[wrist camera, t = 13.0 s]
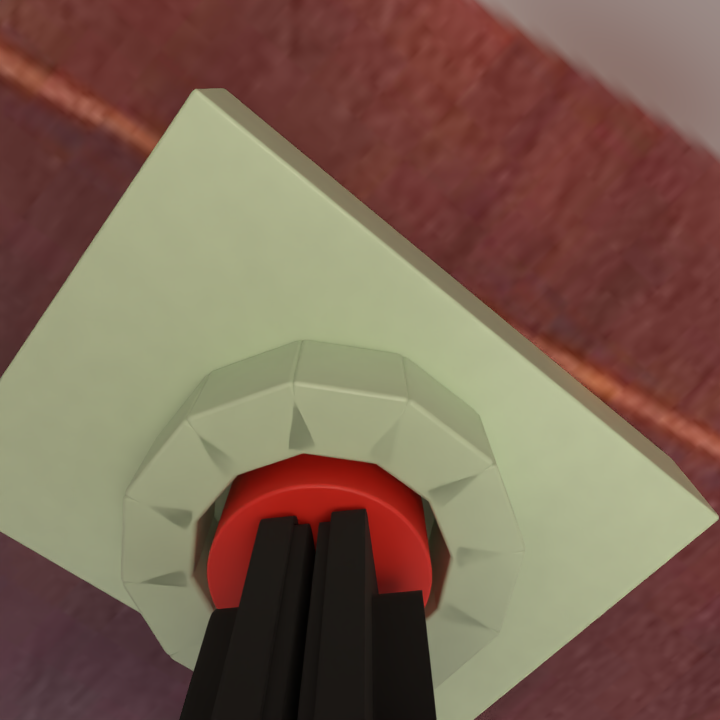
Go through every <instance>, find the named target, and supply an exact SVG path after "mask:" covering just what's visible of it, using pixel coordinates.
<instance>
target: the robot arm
mask: <svg viewBox="0 0 720 720" xmlns="http://www.w3.org/2000/svg"><path fill="white" fill-rule="evenodd" d="M179 720H437V717H436V708H435V699H434V690H433V681H432V672H431V663H430V654H429V645H428V636H427V627H426V618H425V610H424V601H423V592H422V590H416V591H405V592H395V593H384V594H379V592H378V585H377V578H376V571H375V564H374V557H373V550H372V543H371V536H370V529H369V523H368V516H367V510H366V509H356V510H346V511H336V512H332V513H331V521H329V522H320V523H319V526H318V535H317V544H316V551H315V545H314V540H313V534H312V529H311V526H310V524H298V519H297V517H296V516H286V517H276V518H266V519H261V520H260V523H259V526H258V530H257V534H256V538H255V542H254V546H253V550H252V554H251V558H250V562H249V567H248V571H247V575H246V579H245V583H244V587H243V591H242V595H241V599H240V603H239V607H233V608H222V609H215V610H214V611H213V612H212V614H211V616H210V619H209V621H208V625H207V628H206V631H205V635H204V638H203V642H202V645H201V648H200V652H199V655H198V658H197V662H196V665H195V668H194V672H193V675H192V679H191V682H190V685H189V689H188V692H187V695H186V699H185V702H184V706H183V709H182V712H181V716H180V719H179Z"/></svg>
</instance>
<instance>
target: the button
mask: <svg viewBox="0 0 720 720" xmlns="http://www.w3.org/2000/svg"><path fill="white" fill-rule="evenodd" d="M356 509H366V510H367V516H368V523H369V529H370V536H371V543H372V550H373V557H374V564H375V571H376V578H377V585H378V592H379V594H384V593H395V592H405V591H416V590H422V592H423V601H424V608H425V606H426V604H427V601H428V598H429V595H430V591H431V585H432V565H431V558H430V551H429V544H428V537H427V530H426V523H425V516H424V509H423V503H422V498H421V496H420V495H419V494H418V493H416V492H415V491H413V490H412V489H411V488H409V487H408V486H406V485H405V484H404V483H402V482H401V481H399V480H398V479H397V478H395V477H394V476H392V475H391V474H390V473H388V472H387V471H385V470H384V469H383V468H381V467H380V466H378V465H377V464H374V463H367V462H360V461H353V460H346V459H339V458H332V457H325V456H318V455H311V454H304V453H303V454H300V455H297V456H294V457H291V458H288V459H285V460H282V461H279V462H276V463H273V464H270V465H267V466H264V467H261V468H258V469H255V470H252V471H249V472H246V473H243V474H240V475H237V477H236V478H235V479H234V481H233V482H232V485H231V488H230V491H229V493H228V496H227V499H226V502H225V505H224V509H223V512H222V515H221V518H220V521H219V524H218V527H217V530H216V533H215V536H214V539H213V542H212V545H211V548H210V551H209V556H208V561H207V580H208V587H209V590H210V594H211V597H212V600H213V602H214V604H215V606H216V608H217V609H222V608H233V607H239V603H240V599H241V595H242V591H243V587H244V583H245V579H246V575H247V571H248V567H249V562H250V558H251V554H252V550H253V546H254V542H255V538H256V534H257V530H258V526H259V523H260V520H261V519H266V518H276V517H286V516H296V517H297V519H298V524H310V526H311V529H312V534H313V540H314V545H315V551H316V544H317V535H318V526H319V523H320V522H329V521H331V513H332V512H336V511H346V510H356Z"/></svg>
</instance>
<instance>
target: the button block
mask: <svg viewBox="0 0 720 720" xmlns="http://www.w3.org/2000/svg"><path fill="white" fill-rule="evenodd" d="M303 453H304V454H311V455H318V456H325V457H332V458H339V459H346V460H353V461H360V462H367V463H374V464H377V465H378V466H380V467H381V468H383V469H384V470H385V471H387V472H388V473H390V474H391V475H392V476H394V477H395V478H397V479H398V480H399V481H401V482H402V483H404V484H405V485H406V486H408V487H409V488H411V489H412V490H413V491H415V492H416V493H418V494H419V495H420V496H421V498H422V503H423V509H424V516H425V523H426V530H427V537H428V544H429V551H430V558H431V565H432V585H431V591H430V595H429V598H428V601H427V604H426V606H425V608H424V610H425V618H426V627H427V636H428V645H429V654H430V663H431V672H432V681H433V690H434V699H435V708H436V717H437V720H474V719H475V718H476V717H477V716H478V715H480V714H481V713H482V712H483V711H485V710H486V709H487V708H488V707H489V706H491V705H492V704H493V703H494V702H496V701H497V700H498V699H499V698H500V697H502V696H503V695H504V694H505V693H507V692H508V691H509V690H510V689H511V688H513V687H514V686H515V685H516V684H518V683H519V682H520V681H521V680H523V679H524V678H525V677H526V676H527V675H529V674H530V673H531V672H532V671H534V670H535V669H536V668H537V667H538V666H540V665H541V664H542V663H543V662H545V661H546V660H547V659H548V658H549V657H551V656H552V655H553V654H554V653H556V652H557V651H558V650H559V649H560V648H562V647H563V646H564V645H565V644H567V643H568V642H569V641H570V640H572V639H573V638H574V637H575V636H576V635H578V634H579V633H580V632H581V631H583V630H584V629H585V628H586V627H587V626H589V625H590V624H591V623H592V622H594V621H595V620H596V619H597V618H598V617H600V616H601V615H602V614H603V613H605V612H606V611H607V610H608V609H609V608H611V607H612V606H613V605H614V604H616V603H617V602H618V601H619V600H620V599H622V598H623V597H624V596H625V595H627V594H628V593H629V592H630V591H632V590H633V589H634V588H635V587H636V586H638V585H639V584H640V583H641V582H643V581H644V580H645V579H646V578H647V577H649V576H650V575H651V574H652V573H654V572H655V571H656V570H657V569H658V568H660V567H661V566H662V565H663V564H665V563H666V562H667V561H668V560H669V559H671V558H672V557H673V556H674V555H676V554H677V553H678V552H679V551H681V550H682V549H683V548H684V547H685V546H687V545H688V544H689V543H690V542H692V541H693V540H694V539H695V538H696V537H698V536H699V535H700V534H701V533H703V532H704V531H705V530H706V529H707V528H709V527H710V526H711V525H712V524H714V523H715V522H716V521H717V520H718V519H719V517H718V515H717V513H716V512H715V511H714V510H713V508H712V507H711V506H710V505H709V504H708V502H707V501H706V500H705V499H704V498H703V496H702V495H701V494H700V493H699V491H698V490H697V489H696V488H695V487H694V485H693V484H692V483H691V482H690V481H689V479H688V478H687V477H686V476H685V474H684V473H683V472H682V471H681V470H680V468H679V467H678V466H677V465H676V464H675V462H674V461H673V460H672V459H671V458H670V457H669V456H668V455H666V454H665V453H664V452H663V451H662V450H660V449H659V448H658V447H657V446H656V445H654V444H653V443H652V442H651V441H649V440H648V439H647V438H646V437H645V436H643V435H642V434H641V433H640V432H639V431H637V430H636V429H635V428H634V427H633V426H631V425H630V424H629V423H628V422H627V421H625V420H624V419H623V418H622V417H621V416H619V415H618V414H617V413H616V412H614V411H613V410H612V409H611V408H610V407H608V406H607V405H606V404H605V403H604V402H602V401H601V400H600V399H599V398H598V397H596V396H595V395H594V394H593V393H592V392H590V391H589V390H588V389H587V388H586V387H584V386H583V385H582V384H581V383H579V382H578V381H577V380H576V379H575V378H573V377H572V376H571V375H570V374H569V373H567V372H566V371H565V370H564V369H563V368H561V367H560V366H559V365H558V364H557V363H555V362H554V361H553V360H552V359H551V358H549V357H548V356H547V355H546V354H544V353H543V352H542V351H541V350H540V349H538V348H537V347H536V346H535V345H534V344H532V343H531V342H530V341H529V340H528V339H526V338H525V337H524V336H523V335H522V334H520V333H519V332H518V331H517V330H516V329H514V328H513V327H512V326H511V325H509V324H508V323H507V322H506V321H505V320H503V319H502V318H501V317H500V316H499V315H497V314H496V313H495V312H494V311H493V310H491V309H490V308H489V307H488V306H487V305H485V304H484V303H483V302H482V301H481V300H479V299H478V298H477V297H476V296H474V295H473V294H472V293H471V292H470V291H468V290H467V289H466V288H465V287H464V286H462V285H461V284H460V283H459V282H458V281H456V280H455V279H454V278H453V277H452V276H450V275H449V274H448V273H447V272H445V271H444V270H443V269H442V268H441V267H439V266H438V265H437V264H436V263H435V262H433V261H432V260H431V259H430V258H429V257H427V256H426V255H425V254H424V253H423V252H421V251H420V250H419V249H418V248H417V247H415V246H414V245H413V244H412V243H410V242H409V241H408V240H407V239H406V238H404V237H403V236H402V235H401V234H400V233H398V232H397V231H396V230H395V229H394V228H392V227H391V226H390V225H389V224H388V223H386V222H385V221H384V220H383V219H382V218H380V217H379V216H378V215H377V214H375V213H374V212H373V211H372V210H371V209H369V208H368V207H367V206H366V205H365V204H363V203H362V202H361V201H360V200H359V199H357V198H356V197H355V196H354V195H353V194H351V193H350V192H349V191H348V190H347V189H345V188H344V187H343V186H342V185H340V184H339V183H338V182H337V181H336V180H334V179H333V178H332V177H331V176H330V175H328V174H327V173H326V172H325V171H324V170H322V169H321V168H320V167H319V166H318V165H316V164H315V163H314V162H313V161H312V160H310V159H309V158H308V157H307V156H305V155H304V154H303V153H302V152H301V151H299V150H298V149H297V148H296V147H295V146H293V145H292V144H291V143H290V142H289V141H287V140H286V139H285V138H284V137H283V136H281V135H280V134H279V133H278V132H277V131H275V130H274V129H273V128H272V127H270V126H269V125H268V124H267V123H266V122H264V121H263V120H262V119H261V118H260V117H258V116H257V115H256V114H255V113H254V112H252V111H251V110H250V109H249V108H248V107H246V106H245V105H244V104H243V103H241V102H240V101H239V100H238V99H237V98H235V97H234V96H233V95H232V94H231V93H229V92H228V91H227V90H226V89H223V88H214V89H195V90H193V91H192V92H191V94H190V95H189V97H188V98H187V100H186V101H185V103H184V104H183V106H182V107H181V109H180V110H179V112H178V113H177V115H176V116H175V118H174V119H173V121H172V122H171V124H170V125H169V127H168V128H167V130H166V131H165V133H164V134H163V136H162V137H161V139H160V140H159V142H158V143H157V145H156V146H155V148H154V149H153V151H152V152H151V154H150V155H149V157H148V158H147V160H146V161H145V163H144V164H143V166H142V167H141V169H140V170H139V172H138V173H137V175H136V176H135V178H134V179H133V181H132V182H131V184H130V185H129V187H128V188H127V190H126V191H125V193H124V194H123V196H122V197H121V199H120V200H119V202H118V203H117V205H116V206H115V208H114V209H113V211H112V212H111V214H110V215H109V217H108V218H107V220H106V221H105V223H104V224H103V226H102V227H101V229H100V230H99V232H98V233H97V235H96V236H95V238H94V239H93V241H92V242H91V243H90V245H89V246H88V248H87V249H86V251H85V252H84V254H83V255H82V257H81V258H80V260H79V261H78V263H77V264H76V266H75V267H74V269H73V270H72V272H71V273H70V275H69V276H68V278H67V279H66V281H65V282H64V284H63V285H62V287H61V288H60V290H59V291H58V293H57V294H56V296H55V297H54V299H53V300H52V302H51V303H50V305H49V306H48V308H47V309H46V311H45V312H44V314H43V315H42V317H41V318H40V320H39V321H38V323H37V324H36V326H35V327H34V329H33V330H32V332H31V333H30V335H29V336H28V338H27V339H26V341H25V342H24V344H23V345H22V347H21V348H20V350H19V351H18V353H17V354H16V356H15V357H14V359H13V360H12V362H11V363H10V365H9V366H8V368H7V369H6V371H5V372H4V374H3V375H2V377H1V378H0V532H2V533H4V534H6V535H7V536H9V537H11V538H12V539H14V540H16V541H18V542H19V543H21V544H23V545H24V546H26V547H28V548H30V549H31V550H33V551H35V552H36V553H38V554H40V555H42V556H43V557H45V558H47V559H49V560H50V561H52V562H54V563H55V564H57V565H59V566H61V567H62V568H64V569H66V570H67V571H69V572H71V573H73V574H74V575H76V576H78V577H79V578H81V579H83V580H85V581H86V582H88V583H90V584H91V585H93V586H95V587H97V588H98V589H100V590H102V591H103V592H105V593H107V594H109V595H110V596H112V597H114V598H115V599H117V600H119V601H121V602H122V603H124V604H126V605H127V606H129V607H131V608H133V609H134V610H136V611H138V612H139V613H141V615H142V616H143V618H144V619H145V621H146V622H147V624H148V625H149V627H150V629H151V630H152V632H153V633H154V635H155V636H156V638H157V639H158V641H159V643H160V644H161V646H162V647H163V649H164V650H165V652H166V653H167V654H168V655H170V657H171V658H172V659H173V660H175V661H177V662H178V663H180V664H182V665H184V666H185V667H187V668H189V669H191V670H192V671H194V668H195V665H196V662H197V658H198V655H199V652H200V648H201V645H202V642H203V638H204V635H205V631H206V628H207V625H208V621H209V619H210V616H211V614H212V612H213V611H214V610H215V609H217V608H216V606H215V604H214V602H213V600H212V597H211V594H210V590H209V587H208V580H207V561H208V556H209V551H210V548H211V545H212V542H213V539H214V536H215V533H216V530H217V527H218V524H219V521H220V518H221V515H222V512H223V509H224V505H225V502H226V499H227V496H228V493H229V491H230V488H231V485H232V482H233V481H234V479H235V478H236V477H237V475H240V474H243V473H246V472H249V471H252V470H255V469H258V468H261V467H264V466H267V465H270V464H273V463H276V462H279V461H282V460H285V459H288V458H291V457H294V456H297V455H300V454H303Z"/></svg>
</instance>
